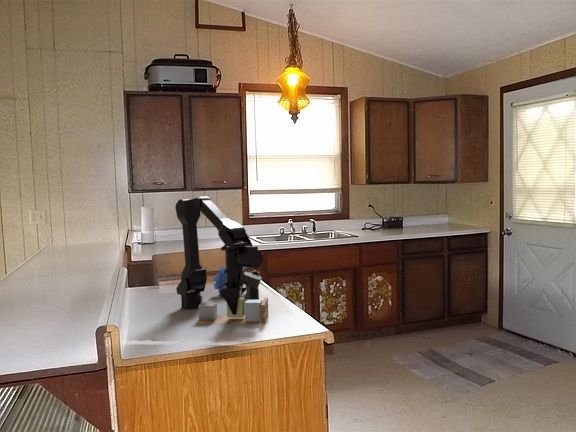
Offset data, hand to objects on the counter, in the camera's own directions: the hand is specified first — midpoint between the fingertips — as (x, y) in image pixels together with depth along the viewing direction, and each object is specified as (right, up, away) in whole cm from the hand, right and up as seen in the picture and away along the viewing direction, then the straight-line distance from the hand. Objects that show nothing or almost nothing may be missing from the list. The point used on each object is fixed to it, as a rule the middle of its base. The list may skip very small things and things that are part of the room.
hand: (235, 312), depth 152 cm
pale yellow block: (0, -1, 0) cm, 1 cm away
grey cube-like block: (-9, -2, +1) cm, 9 cm away
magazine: (+3, -2, +26) cm, 26 cm away
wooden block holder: (-1, -3, 0) cm, 3 cm away
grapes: (-8, -1, +39) cm, 40 cm away
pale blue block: (+6, -2, 0) cm, 6 cm away
